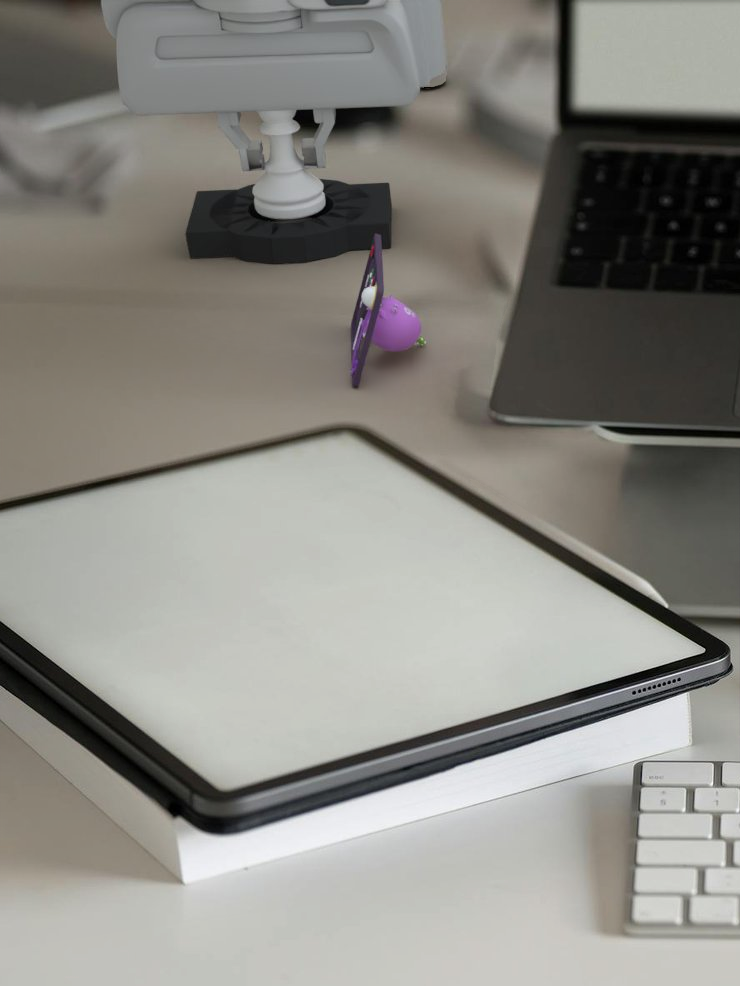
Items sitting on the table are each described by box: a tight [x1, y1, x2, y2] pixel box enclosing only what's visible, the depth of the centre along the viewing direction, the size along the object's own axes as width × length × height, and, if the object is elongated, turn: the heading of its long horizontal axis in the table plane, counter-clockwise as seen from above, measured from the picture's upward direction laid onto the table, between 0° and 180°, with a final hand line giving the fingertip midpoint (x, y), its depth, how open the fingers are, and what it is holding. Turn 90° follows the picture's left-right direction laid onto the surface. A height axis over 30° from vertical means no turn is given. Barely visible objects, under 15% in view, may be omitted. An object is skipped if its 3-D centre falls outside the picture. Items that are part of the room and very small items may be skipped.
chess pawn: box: [252, 110, 325, 221], centre depth 122 cm, size 5×5×9 cm
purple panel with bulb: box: [350, 234, 427, 387], centre depth 108 cm, size 7×5×9 cm
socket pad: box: [185, 178, 393, 265], centre depth 125 cm, size 14×11×2 cm
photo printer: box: [399, 0, 448, 88], centre depth 152 cm, size 10×4×12 cm, turn 69°
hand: (285, 167), depth 122 cm, fingers closed on chess pawn, 3 cm apart
